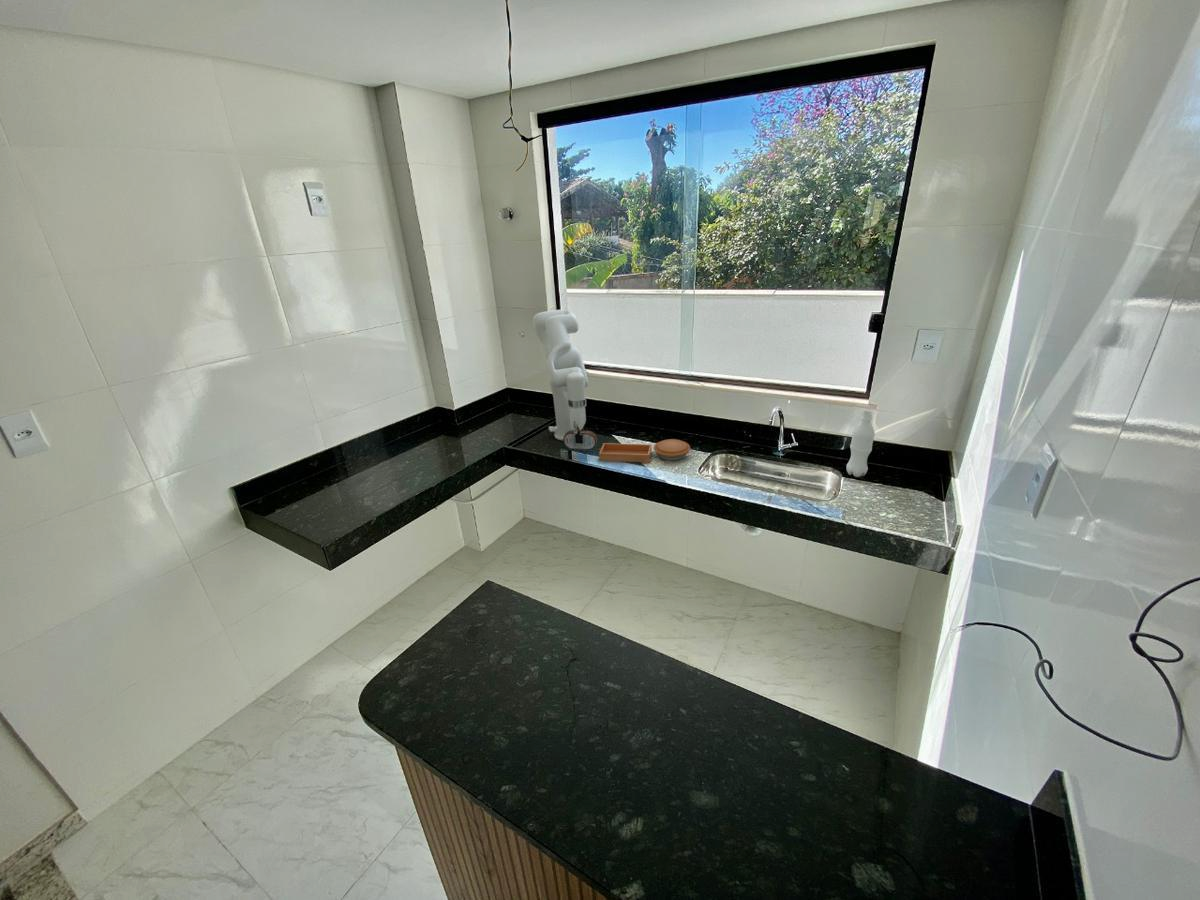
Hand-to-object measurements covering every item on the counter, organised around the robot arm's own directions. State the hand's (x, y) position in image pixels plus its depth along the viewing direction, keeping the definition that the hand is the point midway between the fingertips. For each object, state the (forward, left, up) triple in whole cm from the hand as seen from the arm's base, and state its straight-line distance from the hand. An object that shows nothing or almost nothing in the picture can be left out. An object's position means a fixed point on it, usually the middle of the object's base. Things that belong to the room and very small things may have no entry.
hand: (580, 441), depth 211 cm
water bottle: (+109, -9, -6) cm, 110 cm away
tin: (0, 0, -4) cm, 4 cm away
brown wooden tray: (+20, -1, -6) cm, 21 cm away
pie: (+39, +2, -6) cm, 40 cm away
